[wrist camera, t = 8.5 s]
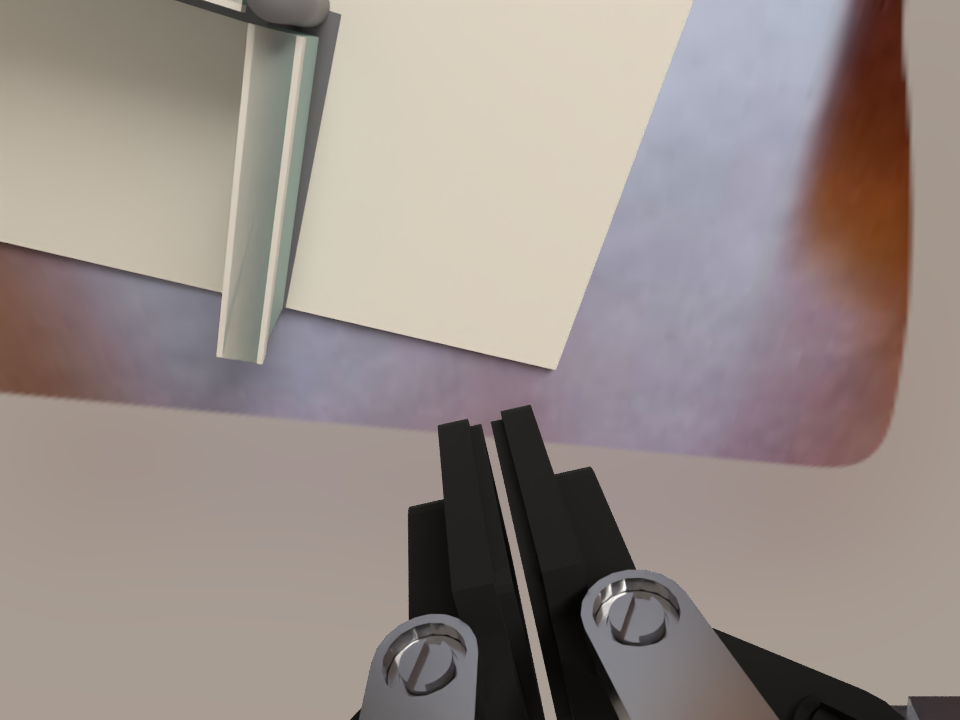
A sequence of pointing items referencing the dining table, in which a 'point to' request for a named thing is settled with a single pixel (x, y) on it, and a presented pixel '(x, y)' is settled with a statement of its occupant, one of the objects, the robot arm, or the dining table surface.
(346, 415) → the dining table surface
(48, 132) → the card
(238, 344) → the pale open channel
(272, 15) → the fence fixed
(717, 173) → the dining table surface
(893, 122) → the dining table surface
